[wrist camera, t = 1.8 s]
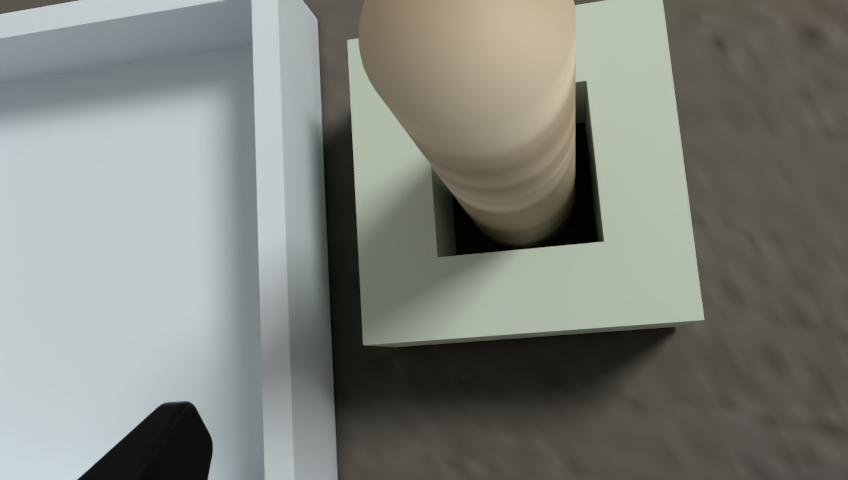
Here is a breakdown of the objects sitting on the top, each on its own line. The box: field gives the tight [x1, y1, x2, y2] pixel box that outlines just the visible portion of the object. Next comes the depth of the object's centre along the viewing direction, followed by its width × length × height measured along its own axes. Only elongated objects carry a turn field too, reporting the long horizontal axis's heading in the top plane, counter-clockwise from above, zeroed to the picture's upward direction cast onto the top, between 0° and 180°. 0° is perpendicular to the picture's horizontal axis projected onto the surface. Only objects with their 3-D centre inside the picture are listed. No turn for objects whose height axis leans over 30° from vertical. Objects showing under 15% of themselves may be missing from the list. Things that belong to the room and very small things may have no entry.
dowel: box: [358, 0, 576, 250], centre depth 17 cm, size 3×3×12 cm
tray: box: [0, 0, 338, 480], centre depth 23 cm, size 16×16×4 cm
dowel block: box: [347, 0, 704, 347], centre depth 21 cm, size 8×8×4 cm
